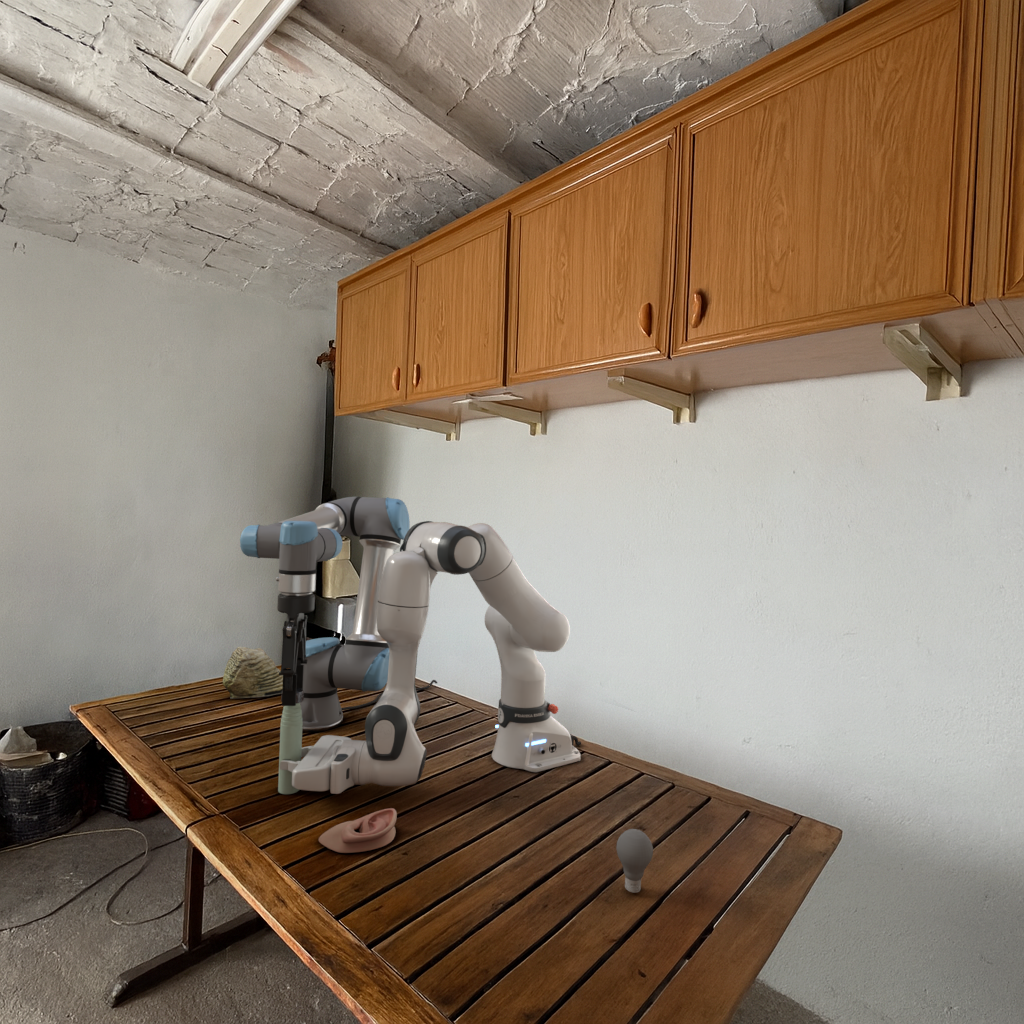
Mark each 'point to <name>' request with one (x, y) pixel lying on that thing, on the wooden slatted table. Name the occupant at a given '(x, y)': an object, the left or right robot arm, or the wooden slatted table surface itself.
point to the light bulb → (634, 857)
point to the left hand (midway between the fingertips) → (292, 699)
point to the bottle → (290, 745)
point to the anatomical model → (362, 833)
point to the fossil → (251, 674)
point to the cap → (298, 695)
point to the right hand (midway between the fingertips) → (286, 758)
